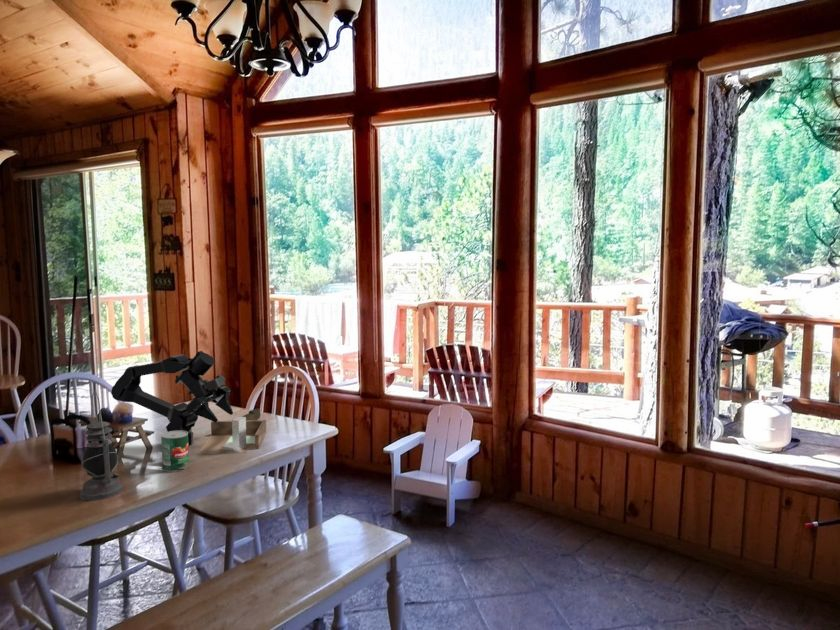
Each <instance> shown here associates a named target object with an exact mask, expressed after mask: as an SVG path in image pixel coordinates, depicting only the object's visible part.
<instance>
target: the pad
mask: <svg viewBox="0 0 840 630" xmlns="http://www.w3.org/2000/svg"><path fill="white" fill-rule="evenodd" d="M228 442H233V439H232V437H230V438H229V440H228V441H227V443H228ZM227 443H226V444H227ZM246 444H255V436H246Z"/></svg>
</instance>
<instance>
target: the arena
mask: <svg viewBox="0 0 840 630" xmlns="http://www.w3.org/2000/svg"><path fill="white" fill-rule="evenodd" d="M210 429H211V430H210V433H211V435H210V437H208V438H207V440H206V441H205V442H204V444H203V445H202V446H201V448H200V449H199V451H198V452H197V453H196V455H207V454H208V455H210V454H215V455H216V454H217V455H218V454H246V453H247V451H248V450H260V447H261V445H262V444H263V441H264V439H265V437H266V435H267V420H266V419H258V420H246V436H255V444H246V449H244V450H242V451H241V452H231V451H222V446H223V445H225V444H226V443H227V441H228V440H229V438H230V437H232V420H218V421H217V422H213V421H210Z"/></svg>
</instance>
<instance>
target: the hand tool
mask: <svg viewBox="0 0 840 630" xmlns="http://www.w3.org/2000/svg"><path fill="white" fill-rule="evenodd" d="M241 417H246V420H260V418H261V411H260V409H259V408H254V409H251V410H249V411H248V413H247V414H244V415H242V416H241Z"/></svg>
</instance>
